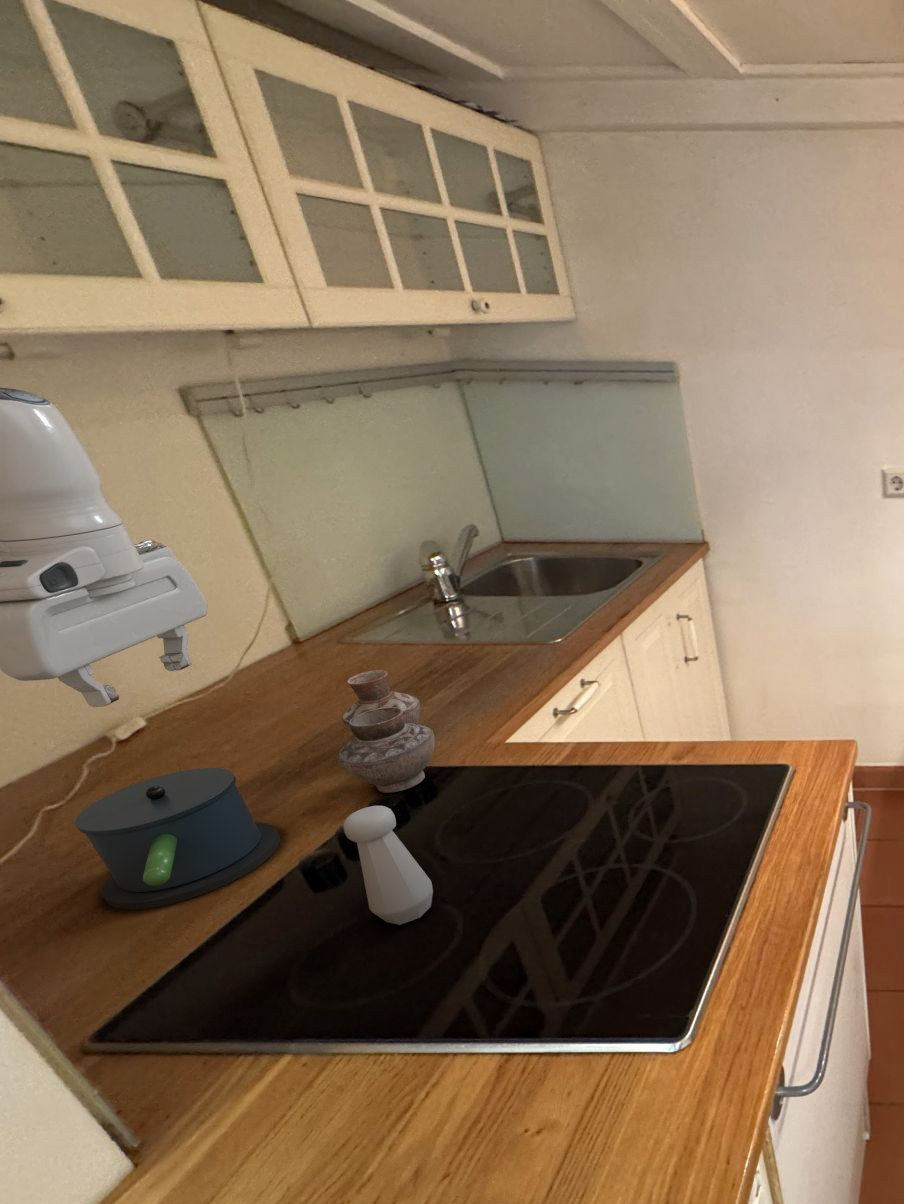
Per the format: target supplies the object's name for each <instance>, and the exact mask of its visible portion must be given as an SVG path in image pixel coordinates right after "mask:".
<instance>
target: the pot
mask: <svg viewBox="0 0 904 1204" xmlns="http://www.w3.org/2000/svg"><path fill="white" fill-rule="evenodd" d="M236 782H237V778H236V776H235V774H234V772H233V771H232V770H229V769H227V768H222V767H200V768H191V769H186V770H180V771H175V772H171V773H167V774H163V775H158V776H155V777H152V778H148V779H146V780H143V781H140V782H137V783H134V784H131V785H129V786H126V787H124V788H121V789H119V790H116V791H113V792H112V793H110V794H107V795H106V796H103V797H102V798H99V799H97V800H96V801H95V802H93V803H91V804H90V805H87V807H86V808H84V809H83V810H82V811H80V813H79V814H78V815H77V816H76V818H75V819H74V825H75V827H76V829H77V830H78V832H80V833H82V834H85V836H86V838H87V839H88V841H89V842H90V844H91V845H92V847H93V848H94V850H95V852H96V853H97V854H98V856H99V858H100V859H101V861H102V863H103V864H104V866H105V867H106V869H107V871H108V872H109V873H110V875H112V876H113V878H114V879H115V881H116V883H117V884H118V886H119V887H120V888H122V889H124V890H127V891H132V892H147V891H155V890H161V889H166V888H171V887H175V886H179V885H182V884H185V883H189V882H192V881H195V880H197V879H200V878H203V877H205V876H208V875H210V874H212V873H215V872H217V871H219V870H221V869H223V868H225V867H227V866H229V865H231V864H233V863H234V862H236V861H238V860H239V859H241V858H242V857H244V856H245V855H246V854H248V853H249V852H250V851H251V850H252V849H253V848H254V847H255V846H256V845H257V844H258V843H259V841H260V838H261V833H260V831H259V829H258V827H257V825H256V823H255V822H256V821H255V819H254V817H253V815H252V813H251V811H250V810H249V807H248V806H247V804H246V802H245V800H244V797H243V796H242V795H241V792H240V790H239V788H238V787H237V785H236Z"/></svg>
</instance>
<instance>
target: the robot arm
mask: <svg viewBox="0 0 904 1204" xmlns="http://www.w3.org/2000/svg"><path fill="white" fill-rule="evenodd" d="M208 606H209V605H208V602H207V600H206V598H205V596H204V595H203V593H202V591H201V589H200V587H199V586H198V585H197V583H196V581H195V579H194V578H193V576H192V575H191V574H190V572H189V571H188V569H187V568H186V567H185V565H184V564H183V563H182V562H181V561H179V560H178V559H177V557H176V555H175V552H174V551H173V550H172V549H171V548H170V546H167V545H165V544H163V543H161V542H157V541H155V540H154V539H153V540H152V539H146V540H143V541H142V540H141V541H140V542H138V543H136V544H135V543H134V541H133V539H132V537H131V535H130V533H129V531H128V528H126V526H125V523H124V521H123V520H122V518H121V517H120V515H118V513H117V512H116V511H115V510H114V509H113V508H112V507H111V506H110V504H109V503H108V501H107V499H106V497H105V495H104V490H103V482H102V478H101V476H100V474H99V472H98V470H97V467H96V466H95V464H94V463H93V460H92V459H91V457H90V455H89V453H88V451H87V450H86V448H85V446H84V445H83V443H82V442H81V440H80V438H79V437H78V435H77V433H76V432H75V430H74V428H73V427H72V426H71V425H70V423H69V422H68V420H67V419H66V417H65V416H64V415H63V414H62V412H61V410H60V411H59V409H58V407H56V406H55V405H54V404H52V402H51V401H49V400H47V398H44V397H42V396H40V395H38V394H35V393H32V392H29V391H26V390H22V389H15V388H8V387H0V671H1V672H2V673H3V674H5V675H7V676H8V677H9V678H12V679H15V680H18V681H19V682H20V681H21V682H31V681H32V682H33V681H44V680H53V679H57V680H58V681H59V682H61V683H63V684H65V685H66V686H68V687H70V688H72V689H73V690H75V691H77V692H78V693H81V695H82V696H83V698H84V701H86V703H87V705H88V706H90V707H92V708H101V707H102V708H103V707H107V706H109V705H111V704H113V703H115V702H116V701H119V700H120V696H119V694H118V693H116V689H115V687H114V685H113V684H101V683H100V682H99V681H97V680H96V679H95V678H93V677H92V675H94V674H95V671H94V669H93V667H92V665H91V664H94V663H95V662H98V661H101V660H103V659H105V658H107V657H110V656H112V655H115V654H117V653H121V652H122V651H125V650H127V649H129V648H132V647H134V646H137V645H139V644H141V643H144V642H146V641H148V640H151V639H153V638H156V637H157V639H162V641H163V653H164V654H162V655H160V656H159V657H158V659H159V660H160V662H161V663H162V664H163V668H164V669H165V670H166V671H169V672H175V671H176V672H177V671H182V670H184V669H187V668H188V667H190V666H191V665H193V662H192V660H191V658H190V656H189V654H188V652H187V651H188V642H189V632H188V630H187V628H186V626H185V625H187V624H190V623H192V622H194V621H197V620H199V619H202V618H204V617H206V616H207V614H208Z"/></svg>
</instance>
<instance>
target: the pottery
mask: <svg viewBox="0 0 904 1204" xmlns="http://www.w3.org/2000/svg"><path fill="white" fill-rule="evenodd" d="M346 683H347V684H348V686H349V687H350V688H351V689H352V691H354V693H355V695H356V697H357V698H358V700H357V701H356V702H355V703H354V704H352V705H351V706H350V707H349V708H348V709H347V710H346V711H345V712H344V714H343V716H342V718H341V722H342V723H343V725H344V727H346V728H347V730H349V731H350V733H351V734H353V736H355V737H353V738H352V739H351V740H349V741H348V742H347V744H345V745H344V746H343V747H342V748H341V749H340V750H339V752H338V754H337V757H336V759H337V761H338V762H339V765H340V766H341V767H342V768H343V769H344V770H345V771H346V772H347V774H349V775H351V776H352V777H353V778H355V779H357V780H359V781H361V782H363V783H367V784H369V785H374V786H376V789H377V790H378V791H379V792H381V793H386V794H387V793H389V794H391V793H398V792H403V791H406V790H408V789H411V788H413V787H415V786H417V785H419V784H420V783H422V782H423V780H424V779H425V778H426V775H425V772H424V770H425V769H426V767H427V766H428V765H429V763H430V762H431V760H432V757H433V754H434V750H435V741H436V740H435V734H434V731H433V729H432V728H430V727H427V726H425V725H422V724H419V721H420V715H421V702H420V700H419V699H418V697H416V696H414V695H410V694H409V693H403V692H399V691H392V689H391V686H390V678H389V672H388V671H387V670H384V669H376V670H369V671H364V672H361V673H358V674H354V675H353V676H350V677H349V678H348V679H347V681H346Z"/></svg>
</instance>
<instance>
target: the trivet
mask: <svg viewBox="0 0 904 1204" xmlns="http://www.w3.org/2000/svg"><path fill="white" fill-rule="evenodd" d="M255 823H256V825H257V827H258V829H259V831H260V833H261V838H260V841H259V843H258V844H257V845H256V846H255V847H254V848H253V849H252V850H251V851H250V852H249V853H248V854H246V855H245V856H244V857H242V858H241V859H239V860H238V861H236V862H234V863H233V864H231V865H229V866H227V867H225V868H223V869H221V870H219V871H217V872H215V873H212V874H210V875H208V876H205V877H203V878H200V879H197V880H195V881H192V882H189V883H185V884H182V885H179V886H175V887H171V888H166V889H161V890H155V891H147V892H132V891H127V890H124V889H122V888H120V887H119V886H118V884H117V883H116V881H115V879H114V878H113V876H112V875H111V874H110V875H109V876H108V877H107V878H106V879H105V881H104V882H103V884H102V887H101V889H100V890H101V891H100V893H101V897H102V898H103V899H104V901H105V902H106V903H107V904H108V905H109V906H111V907H112V908H115V909H119V910H127V911H129V910H131V911H132V910H134V911H135V910H146V909H154V908H160V907H164V906H169V905H173V904H176V903H181V902H184V901H187V900H191V899H194V898H196V897H199V896H202V895H205V894H207V893H210V892H212V891H216V890H217V889H220V888H221V887H224V886H227V885H228V884H230V883H233V882H234V881H236V880H238V879H240V878H242V877H243V876H245V875H247V874H249V873H250V872H252V871H254V870H255V869H257V868H258V867H260V866H261V865H262V864H264V863H265V862H266V861H268V859H270V857H272V856H273V855H274V854H275V853H276V851H277V849H278V848H279V846H280V843H281V836H280V834H279V832H278V830H277V828H276V827H275V826H273V825H271V824H269V823H266V822H261V821H255Z"/></svg>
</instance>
